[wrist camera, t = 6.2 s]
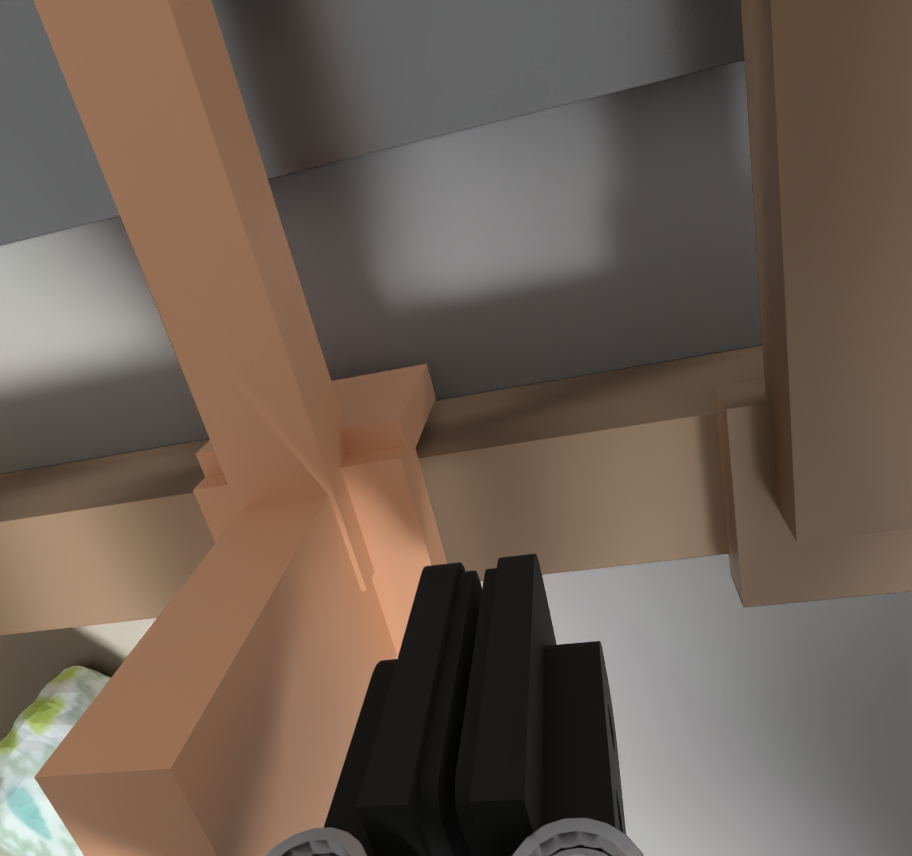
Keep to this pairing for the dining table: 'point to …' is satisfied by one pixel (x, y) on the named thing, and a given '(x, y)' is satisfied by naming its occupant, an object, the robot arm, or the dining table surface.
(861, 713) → the dining table surface
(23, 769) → the towel
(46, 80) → the steel strip
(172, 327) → the sliding leg
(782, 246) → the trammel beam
